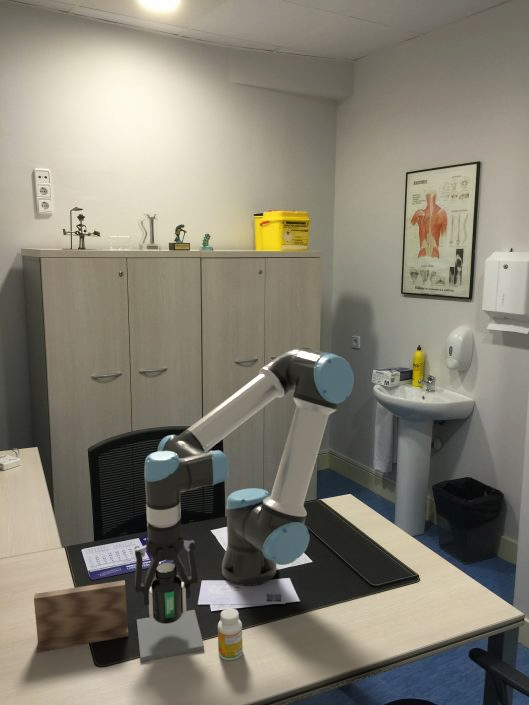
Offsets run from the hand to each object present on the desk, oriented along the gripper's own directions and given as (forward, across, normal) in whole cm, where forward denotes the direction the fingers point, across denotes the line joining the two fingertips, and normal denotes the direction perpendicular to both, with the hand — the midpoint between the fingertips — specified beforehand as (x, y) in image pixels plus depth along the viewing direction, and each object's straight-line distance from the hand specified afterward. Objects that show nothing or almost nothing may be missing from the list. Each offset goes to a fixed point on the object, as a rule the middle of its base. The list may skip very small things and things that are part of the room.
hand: (167, 613), depth 140 cm
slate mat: (+6, 0, 0) cm, 6 cm away
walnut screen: (+6, +19, -6) cm, 21 cm away
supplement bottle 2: (+6, -13, +10) cm, 17 cm away
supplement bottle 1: (+1, 0, 0) cm, 1 cm away
